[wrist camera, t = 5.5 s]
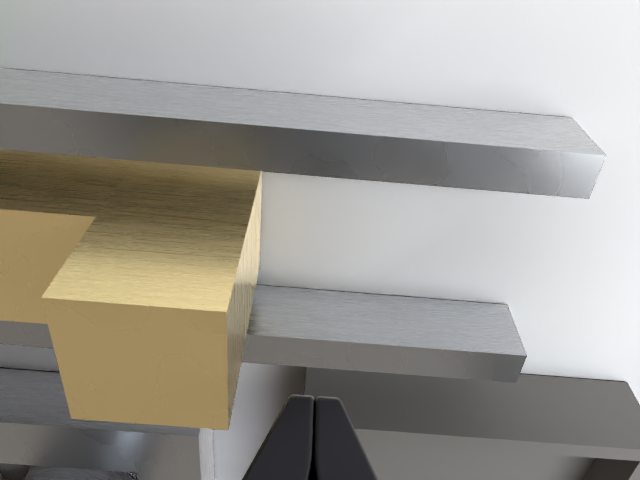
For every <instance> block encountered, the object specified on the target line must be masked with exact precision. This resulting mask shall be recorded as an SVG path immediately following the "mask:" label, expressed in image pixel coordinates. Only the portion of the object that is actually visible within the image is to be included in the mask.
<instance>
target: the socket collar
mask: <svg viewBox="0 0 640 480" xmlns="http://www.w3.org/2000/svg"><path fill="white" fill-rule="evenodd" d="M0 463H5V464H19V465H33V466H47V467H62V468H76V469H90V470H104V471H118V472H132V473H137V479H138V480H215V473H214V446H213V429H206V428H192V427H178V426H164V425H151V424H137V423H123V422H109V421H96V420H82V419H71V416H70V412H69V408H68V404H67V399H66V395H65V391H64V387H63V383H62V379H61V375H60V373H57V372H43V371H30V370H16V369H3V368H0ZM0 480H3V478H2V475H1V472H0Z"/></svg>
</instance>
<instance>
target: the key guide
mask: <svg viewBox="0 0 640 480" xmlns="http://www.w3.org/2000/svg"><path fill="white" fill-rule="evenodd" d="M0 149H1V150H13V151H25V152H37V153H49V154H61V155H73V156H85V157H97V158H109V159H121V160H133V161H144V162H156V163H168V164H180V165H192V166H204V167H216V168H228V169H240V170H252V171H264V172H275V173H287V174H299V175H311V176H323V177H335V178H347V179H359V180H371V181H383V182H395V183H407V184H418V185H430V186H442V187H454V188H466V189H478V190H490V191H502V192H514V193H526V194H538V195H549V196H561V197H573V198H585V199H589V198H590V195H591V193H592V190H593V187H594V185H595V182H596V180H597V177H598V175H599V172H600V170H601V167H602V165H603V162H604V160H605V157H606V155H605V153H604V152H603V151H602V150H601V149H600V148H599V147H598V146H597V145H596V144H595V143H594V141H593V140H592V139H591V138H590V137H589V136H588V135H587V134H586V133H585V132H584V131H583V129H582V128H581V127H580V126H579V125H578V124H577V123H576V122H575V121H574V120H573V119H572V118H569V117H558V116H546V115H535V114H523V113H512V112H501V111H489V110H478V109H466V108H455V107H443V106H432V105H420V104H409V103H398V102H386V101H375V100H363V99H352V98H340V97H329V96H318V95H306V94H295V93H283V92H272V91H260V90H249V89H237V88H226V87H215V86H203V85H192V84H180V83H169V82H157V81H146V80H134V79H123V78H112V77H100V76H89V75H77V74H66V73H54V72H43V71H31V70H20V69H9V68H0ZM0 344H10V345H23V346H36V347H49V348H54V347H53V343H52V339H51V335H50V331H49V327H48V324H42V323H29V322H16V321H3V320H0ZM526 357H527V355H526V352H525V350H524V347H523V344H522V342H521V339H520V337H519V334H518V331H517V329H516V326H515V324H514V321H513V318H512V316H511V313H510V311H509V308H508V305H504V304H492V303H479V302H466V301H454V300H441V299H429V298H416V297H403V296H391V295H378V294H365V293H353V292H340V291H327V290H315V289H302V288H289V287H277V286H264V285H256V288H255V293H254V299H253V304H252V309H251V314H250V320H249V325H248V330H247V335H246V340H245V346H244V351H243V356H242V361H241V362H247V363H261V364H274V365H287V366H300V367H314V368H327V369H340V370H353V371H366V372H380V373H393V374H406V375H419V376H432V377H446V378H459V379H472V380H485V381H499V382H512V383H516V382H517V379H518V377H519V374H520V372H521V369H522V367H523V364H524V362H525V359H526Z"/></svg>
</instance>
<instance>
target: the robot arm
mask: <svg viewBox="0 0 640 480" xmlns="http://www.w3.org/2000/svg"><path fill="white" fill-rule="evenodd" d="M242 480H378V479H377V477H376V474H375V472H374V470H373V468H372V466H371V464H370V461H369V459H368V457H367V455H366V453H365V451H364V448H363V446H362V444H361V442H360V440H359V438H358V436H357V433H356V431H355V429H354V427H353V425H352V423H351V420H350V418H349V416H348V414H347V412H346V410H345V408H344V405H343V403H342V401H341V400H340V399H339V398H337V397H326V396H318V397H316V399H314V397H313V396H311V395H299V394H292V395H290V396H289V397H288V399H287V401H286V402H285V404H284V406H283V408H282V410H281V411H280V413H279V415H278V417H277V418H276V420H275V422H274V424H273V426H272V427H271V429H270V431H269V433H268V434H267V436H266V438H265V440H264V442H263V443H262V445H261V447H260V449H259V450H258V452H257V454H256V456H255V458H254V459H253V461H252V463H251V465H250V466H249V468H248V470H247V472H246V474H245V475H244V477H243V479H242Z"/></svg>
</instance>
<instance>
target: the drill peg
mask: <svg viewBox="0 0 640 480" xmlns="http://www.w3.org/2000/svg"><path fill="white" fill-rule="evenodd" d="M24 480H134V479H133V478H132V477H131V476H130V475H129V474H128V473H127V472H118V471H104V470H90V469H76V468H62V467H47V466H31V468H30V469H29V470H28V472H27V474H26V476H25V478H24Z"/></svg>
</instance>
